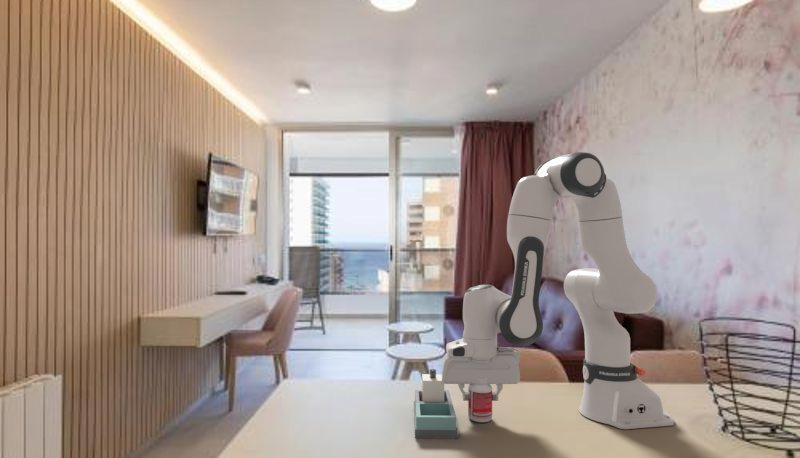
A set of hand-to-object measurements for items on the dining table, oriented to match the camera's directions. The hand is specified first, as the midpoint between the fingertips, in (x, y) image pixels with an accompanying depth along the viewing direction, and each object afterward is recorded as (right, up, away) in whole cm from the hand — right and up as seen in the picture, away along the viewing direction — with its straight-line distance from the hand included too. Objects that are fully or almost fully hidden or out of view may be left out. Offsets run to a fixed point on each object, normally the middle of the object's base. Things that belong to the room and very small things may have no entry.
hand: (480, 400), depth 116 cm
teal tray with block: (-12, -5, -2) cm, 13 cm away
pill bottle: (0, -5, 0) cm, 5 cm away
